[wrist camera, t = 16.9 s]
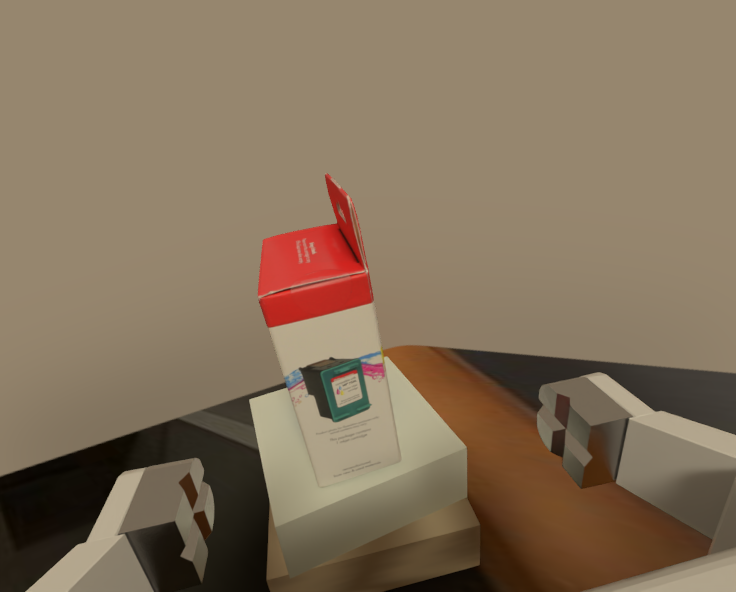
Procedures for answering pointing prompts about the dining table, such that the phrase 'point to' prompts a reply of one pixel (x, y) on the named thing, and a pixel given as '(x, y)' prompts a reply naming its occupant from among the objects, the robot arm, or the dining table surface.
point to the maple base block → (388, 556)
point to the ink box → (330, 344)
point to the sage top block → (355, 478)
